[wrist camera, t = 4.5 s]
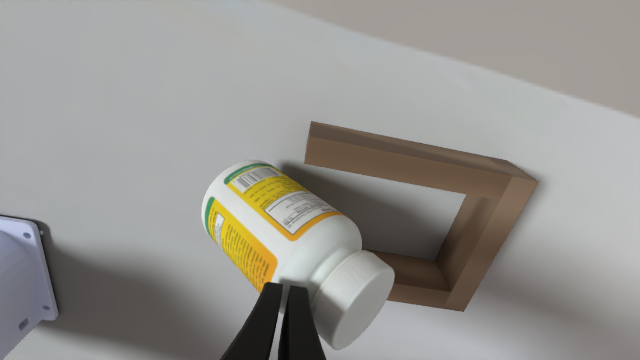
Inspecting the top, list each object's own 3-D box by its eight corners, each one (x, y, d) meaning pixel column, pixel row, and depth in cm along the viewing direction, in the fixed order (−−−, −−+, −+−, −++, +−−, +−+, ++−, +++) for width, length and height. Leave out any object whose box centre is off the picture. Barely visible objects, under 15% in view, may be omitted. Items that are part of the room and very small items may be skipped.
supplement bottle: (240, 140, 16) (389, 237, 10) (290, 181, 20) (414, 265, 15) (175, 222, 15) (297, 372, 10) (241, 247, 20) (351, 360, 14)
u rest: (446, 279, 23) (463, 311, 20) (285, 253, 22) (280, 284, 19) (506, 160, 19) (538, 181, 16) (311, 121, 18) (309, 136, 15)
